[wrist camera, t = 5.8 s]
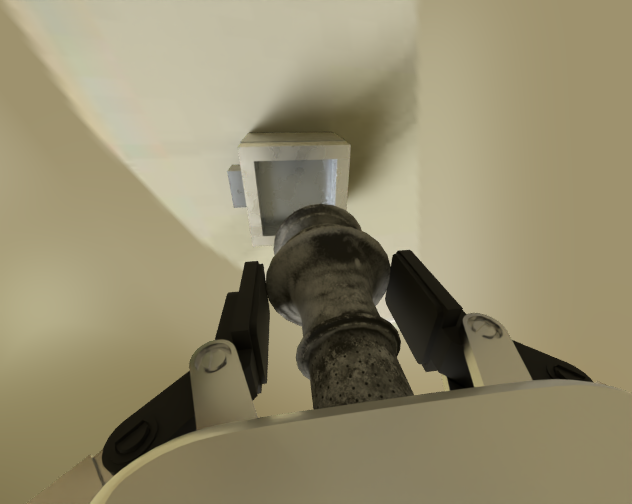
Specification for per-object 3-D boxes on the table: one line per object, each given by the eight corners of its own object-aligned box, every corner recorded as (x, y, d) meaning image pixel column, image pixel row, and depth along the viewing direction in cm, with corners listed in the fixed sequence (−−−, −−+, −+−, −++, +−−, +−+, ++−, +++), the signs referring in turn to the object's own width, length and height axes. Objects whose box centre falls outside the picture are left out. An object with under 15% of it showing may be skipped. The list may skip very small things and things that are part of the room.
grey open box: (230, 133, 29) (212, 146, 21) (332, 131, 30) (351, 144, 22) (246, 232, 36) (237, 271, 28) (329, 228, 37) (343, 264, 29)
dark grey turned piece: (301, 300, 17) (337, 615, 6) (246, 232, 14) (151, 618, 3) (382, 259, 16) (573, 548, 6) (342, 177, 13) (595, 475, 3)
